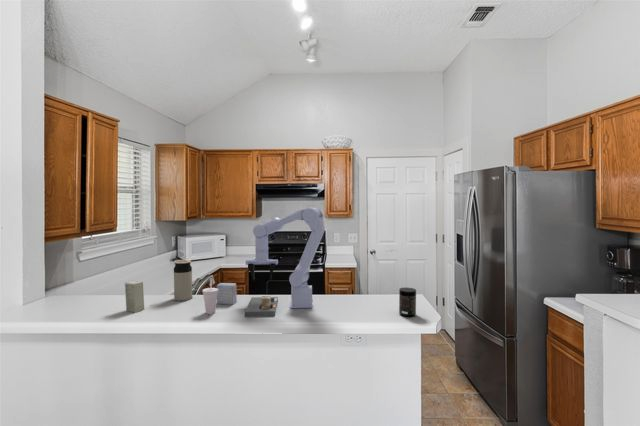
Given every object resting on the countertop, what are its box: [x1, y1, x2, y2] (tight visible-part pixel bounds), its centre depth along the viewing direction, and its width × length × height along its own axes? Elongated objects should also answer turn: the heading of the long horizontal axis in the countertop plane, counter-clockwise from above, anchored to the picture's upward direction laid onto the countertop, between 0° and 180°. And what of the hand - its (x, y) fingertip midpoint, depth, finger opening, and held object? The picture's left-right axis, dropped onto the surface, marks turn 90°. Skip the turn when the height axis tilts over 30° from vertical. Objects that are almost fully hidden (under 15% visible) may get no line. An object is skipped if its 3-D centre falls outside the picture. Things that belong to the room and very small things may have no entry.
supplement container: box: [398, 287, 417, 318], centre depth 141 cm, size 7×7×10 cm
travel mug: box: [173, 259, 193, 302], centre depth 164 cm, size 8×8×18 cm
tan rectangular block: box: [261, 295, 272, 309], centre depth 146 cm, size 4×4×6 cm
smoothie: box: [202, 278, 218, 315], centre depth 144 cm, size 6×6×14 cm
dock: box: [244, 296, 279, 317], centre depth 150 cm, size 12×20×2 cm, turn 3°
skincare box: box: [124, 280, 145, 313], centre depth 147 cm, size 6×4×12 cm
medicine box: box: [216, 282, 238, 305], centre depth 158 cm, size 8×4×9 cm, turn 84°
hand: (262, 280), depth 158 cm, fingers open, 7 cm apart
